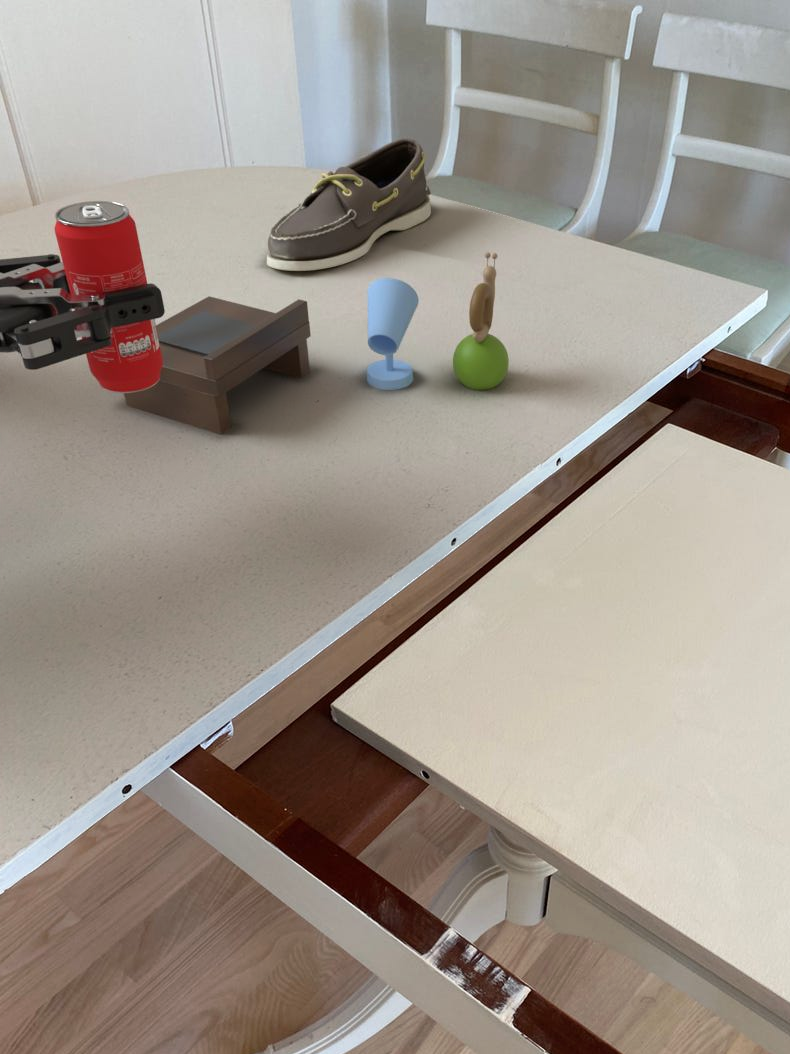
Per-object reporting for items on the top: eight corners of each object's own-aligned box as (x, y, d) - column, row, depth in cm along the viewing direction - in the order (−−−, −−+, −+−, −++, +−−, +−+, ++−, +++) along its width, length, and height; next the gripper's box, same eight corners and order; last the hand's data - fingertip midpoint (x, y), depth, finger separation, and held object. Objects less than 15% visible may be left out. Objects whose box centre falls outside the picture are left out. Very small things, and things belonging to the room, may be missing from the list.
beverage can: (98, 400, 70) (55, 229, 62) (89, 370, 73) (46, 204, 66) (171, 388, 72) (138, 220, 64) (158, 359, 75) (125, 196, 67)
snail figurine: (514, 374, 98) (520, 254, 90) (501, 403, 94) (506, 280, 86) (462, 367, 99) (463, 248, 91) (446, 396, 95) (446, 274, 87)
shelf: (124, 410, 91) (103, 329, 86) (218, 352, 101) (205, 276, 95) (227, 443, 87) (212, 359, 82) (315, 379, 97) (307, 300, 91)
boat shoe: (239, 269, 117) (228, 189, 111) (386, 200, 137) (383, 129, 131) (311, 289, 113) (303, 208, 107) (452, 215, 133) (452, 143, 127)
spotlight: (374, 365, 99) (359, 397, 94) (368, 267, 92) (352, 296, 87) (421, 369, 99) (409, 401, 94) (419, 271, 92) (406, 300, 87)
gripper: (-111, 348, 69) (126, 301, 76) (-71, 436, 60) (192, 374, 67) (-153, 240, 64) (104, 201, 71) (-117, 319, 55) (173, 265, 62)
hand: (146, 285), depth 69 cm, fingers closed on beverage can, 5 cm apart
